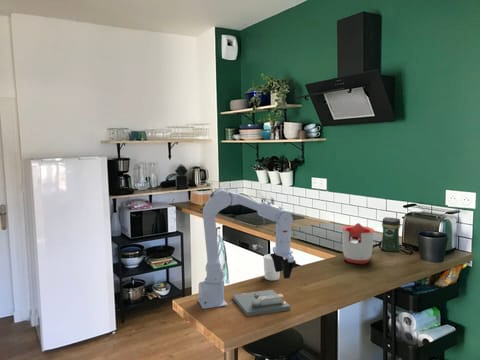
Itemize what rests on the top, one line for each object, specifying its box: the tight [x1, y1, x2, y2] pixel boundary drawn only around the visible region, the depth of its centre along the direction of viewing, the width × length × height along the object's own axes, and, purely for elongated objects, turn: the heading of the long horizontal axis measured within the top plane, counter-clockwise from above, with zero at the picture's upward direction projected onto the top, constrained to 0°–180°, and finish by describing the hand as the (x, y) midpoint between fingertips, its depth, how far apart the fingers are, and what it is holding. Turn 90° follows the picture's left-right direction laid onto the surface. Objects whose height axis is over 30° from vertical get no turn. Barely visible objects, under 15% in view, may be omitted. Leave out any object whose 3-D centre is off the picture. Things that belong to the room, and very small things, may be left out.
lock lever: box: [252, 293, 285, 308], centre depth 145 cm, size 12×4×3 cm, turn 109°
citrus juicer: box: [341, 222, 375, 265], centre depth 201 cm, size 16×17×20 cm
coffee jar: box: [380, 216, 401, 253], centre depth 222 cm, size 10×8×19 cm
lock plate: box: [232, 289, 291, 317], centre depth 149 cm, size 17×16×6 cm
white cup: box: [263, 253, 281, 281], centre depth 177 cm, size 8×8×10 cm
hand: (282, 274), depth 152 cm, fingers open, 7 cm apart
